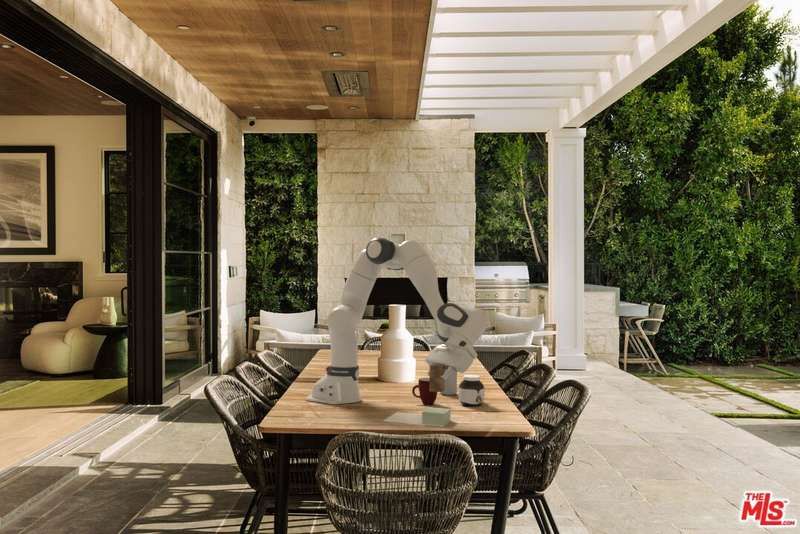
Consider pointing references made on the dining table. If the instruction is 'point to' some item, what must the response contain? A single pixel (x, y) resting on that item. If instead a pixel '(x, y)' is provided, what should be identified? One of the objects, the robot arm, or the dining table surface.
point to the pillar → (436, 378)
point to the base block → (436, 416)
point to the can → (450, 384)
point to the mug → (425, 392)
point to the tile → (409, 419)
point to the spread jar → (471, 391)
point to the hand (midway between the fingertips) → (435, 376)
